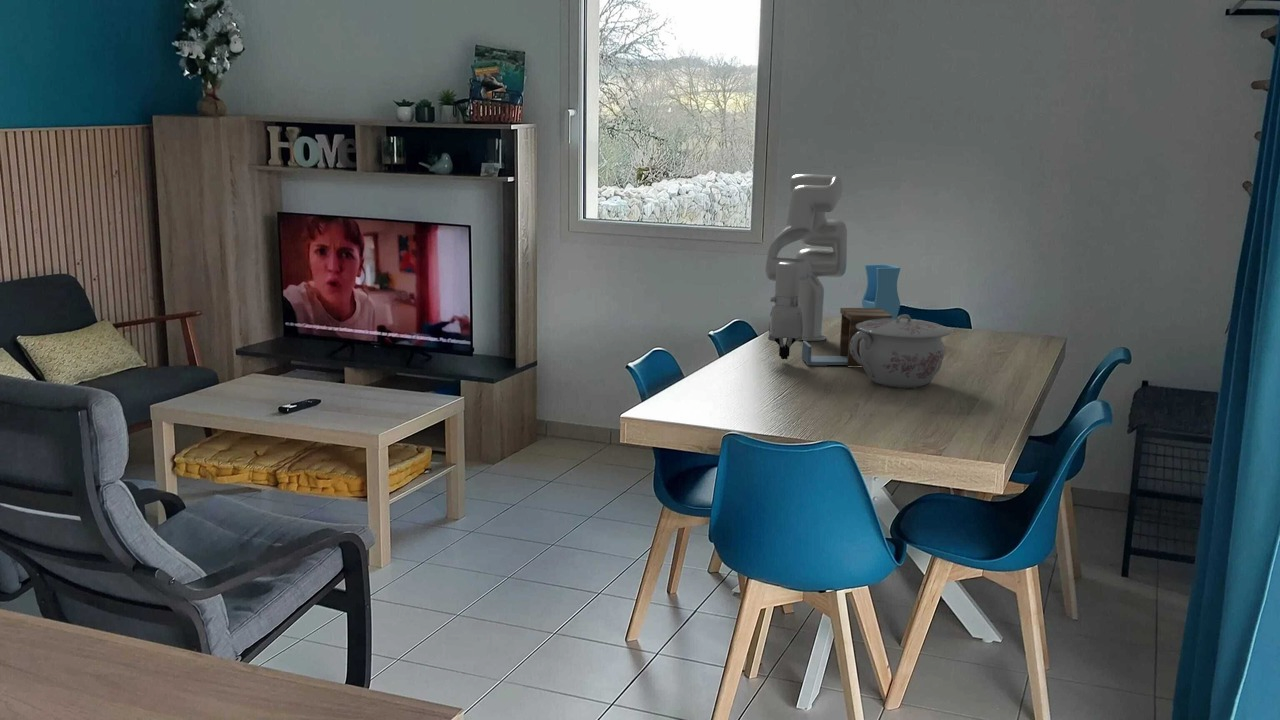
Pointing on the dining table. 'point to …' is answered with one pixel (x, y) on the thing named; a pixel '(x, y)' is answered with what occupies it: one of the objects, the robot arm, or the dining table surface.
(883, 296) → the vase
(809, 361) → the blue-grey l-shaped bracket
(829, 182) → the robot arm
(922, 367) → the chamber pot
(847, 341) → the open wooden box
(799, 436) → the dining table surface
